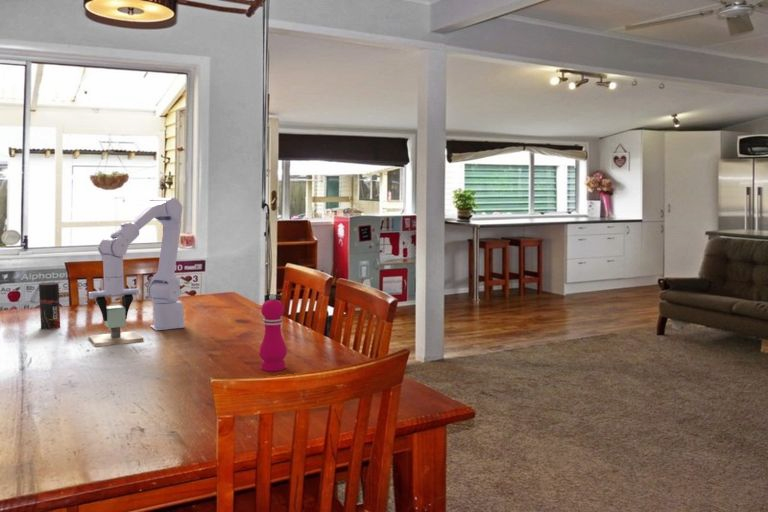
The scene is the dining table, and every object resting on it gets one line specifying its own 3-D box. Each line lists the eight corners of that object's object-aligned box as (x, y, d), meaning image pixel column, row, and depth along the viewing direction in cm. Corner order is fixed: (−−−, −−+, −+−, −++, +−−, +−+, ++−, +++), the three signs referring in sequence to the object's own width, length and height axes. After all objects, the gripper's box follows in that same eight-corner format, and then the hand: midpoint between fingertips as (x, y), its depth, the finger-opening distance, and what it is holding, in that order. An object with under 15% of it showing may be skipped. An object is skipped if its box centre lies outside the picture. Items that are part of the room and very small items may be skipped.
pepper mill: (272, 363, 186) (272, 291, 184) (292, 367, 182) (292, 293, 180) (253, 369, 180) (252, 294, 178) (273, 373, 176) (272, 297, 174)
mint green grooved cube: (121, 323, 216) (121, 304, 216) (125, 326, 212) (125, 307, 211) (104, 325, 213) (103, 306, 213) (108, 328, 209) (107, 308, 208)
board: (134, 334, 222) (134, 317, 221) (143, 341, 212) (142, 323, 211) (88, 338, 214) (87, 321, 214) (95, 346, 204) (94, 328, 204)
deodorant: (52, 329, 228) (50, 285, 226) (36, 328, 229) (34, 284, 227) (64, 326, 233) (62, 282, 232) (48, 325, 235) (46, 282, 233)
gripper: (134, 273, 218) (135, 315, 220) (86, 276, 210) (87, 319, 212) (140, 276, 213) (141, 319, 214) (90, 279, 204) (92, 323, 206)
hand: (115, 319), depth 212 cm, fingers closed on mint green grooved cube, 5 cm apart
